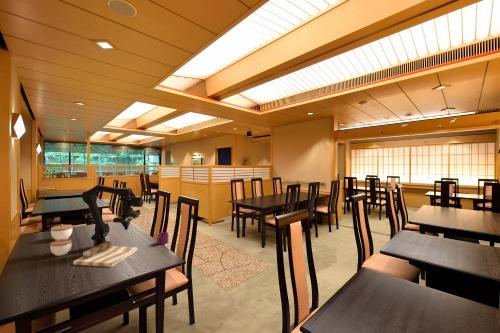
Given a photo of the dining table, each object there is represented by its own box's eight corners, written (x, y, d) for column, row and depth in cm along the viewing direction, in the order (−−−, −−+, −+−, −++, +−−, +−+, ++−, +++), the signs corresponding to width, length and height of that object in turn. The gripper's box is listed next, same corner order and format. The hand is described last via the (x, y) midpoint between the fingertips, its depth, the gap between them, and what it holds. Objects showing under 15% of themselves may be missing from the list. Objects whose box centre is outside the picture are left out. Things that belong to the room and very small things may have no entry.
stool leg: (86, 258, 131) (86, 252, 131) (81, 257, 131) (81, 252, 131) (111, 245, 150) (111, 241, 150) (106, 245, 150) (106, 241, 150)
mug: (170, 242, 166) (170, 232, 166) (160, 246, 156) (160, 236, 156) (162, 240, 168) (162, 231, 168) (152, 245, 159) (152, 235, 159)
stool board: (73, 264, 128) (73, 260, 128) (104, 248, 152) (104, 245, 152) (111, 266, 125) (111, 262, 125) (137, 250, 149) (137, 247, 149)
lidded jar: (73, 253, 143) (73, 238, 143) (51, 258, 135) (51, 243, 135) (70, 249, 150) (70, 235, 150) (49, 253, 142) (49, 238, 142)
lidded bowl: (75, 238, 172) (75, 223, 172) (54, 243, 161) (54, 227, 161) (68, 235, 179) (68, 221, 179) (48, 239, 168) (48, 224, 168)
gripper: (129, 209, 144) (128, 234, 144) (145, 204, 163) (145, 226, 163) (112, 209, 145) (112, 233, 145) (130, 204, 164) (130, 225, 164)
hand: (126, 229), depth 154 cm, fingers closed
